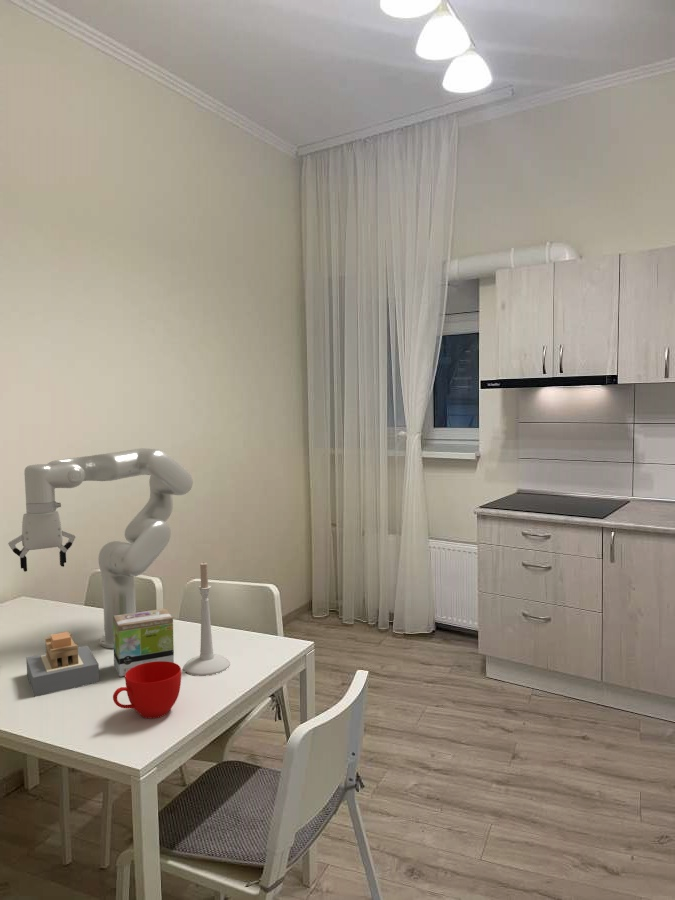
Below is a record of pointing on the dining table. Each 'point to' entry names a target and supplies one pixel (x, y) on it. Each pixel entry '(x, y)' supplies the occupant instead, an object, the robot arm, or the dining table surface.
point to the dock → (61, 673)
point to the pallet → (61, 653)
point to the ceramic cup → (151, 688)
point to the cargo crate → (60, 640)
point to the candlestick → (206, 637)
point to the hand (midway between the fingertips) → (43, 568)
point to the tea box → (142, 639)
